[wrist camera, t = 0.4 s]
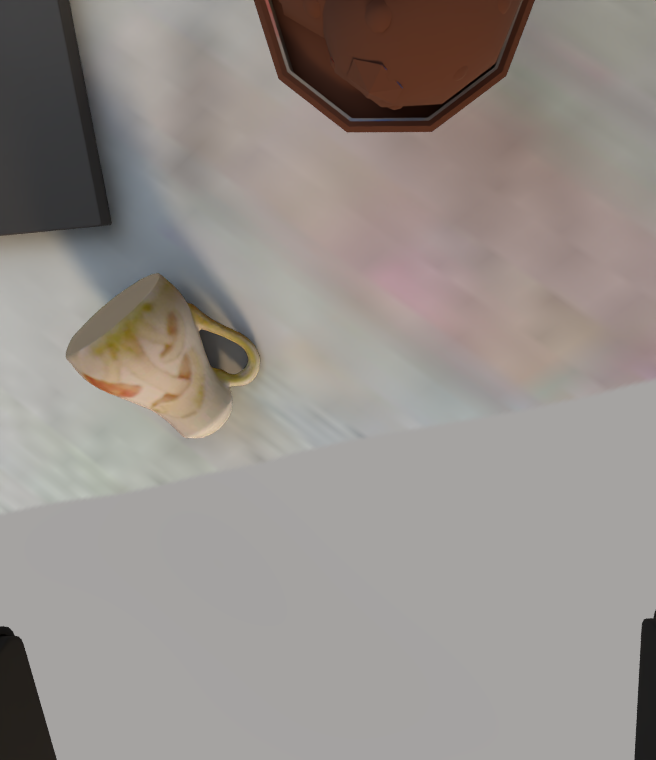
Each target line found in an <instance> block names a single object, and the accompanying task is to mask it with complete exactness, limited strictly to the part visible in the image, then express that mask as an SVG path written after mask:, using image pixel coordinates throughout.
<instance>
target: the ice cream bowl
mask: <svg viewBox="0 0 656 760" xmlns="http://www.w3.org/2000/svg"><path fill="white" fill-rule="evenodd" d="M534 1H535V0H254V2H255V5H256V8H257V12H258V15H259V18H260V21H261V24H262V28H263V31H264V34H265V37H266V40H267V43H268V47H269V50H270V53H271V56H272V59H273V62H274V66H275V69H276V72H277V75H278V78H279V80H281V81H282V82H283V83H285V84H286V85H287V86H288V87H290V88H291V89H292V90H294V91H295V92H296V93H297V94H299V95H300V96H301V97H303V98H304V99H305V100H306V101H308V102H309V103H310V104H312V105H313V106H314V107H315V108H317V109H318V110H319V111H320V112H322V113H323V114H324V115H326V116H327V117H328V118H329V119H331V120H332V121H333V122H335V123H336V124H337V125H338V126H340V127H341V128H342V129H344V130H345V131H346V132H432V131H434V130H435V129H436V128H438V127H439V126H440V125H441V124H443V123H444V122H445V121H447V120H448V119H449V118H451V117H452V116H453V115H455V114H456V113H457V112H459V111H460V110H461V109H463V108H464V107H465V106H467V105H468V104H469V103H471V102H472V101H473V100H475V99H476V98H477V97H479V96H480V95H481V94H483V93H484V92H485V91H487V90H488V89H489V88H491V87H492V86H493V85H495V84H496V83H497V82H499V81H500V80H501V79H503V78H504V77H505V76H506V75H507V72H508V70H509V67H510V64H511V62H512V59H513V56H514V54H515V51H516V48H517V46H518V43H519V40H520V38H521V35H522V33H523V30H524V27H525V25H526V22H527V19H528V17H529V14H530V11H531V9H532V6H533V3H534Z"/></svg>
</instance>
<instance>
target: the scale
mask: <svg viewBox="0 0 656 760" xmlns="http://www.w3.org/2000/svg"><path fill="white" fill-rule="evenodd" d="M104 225H111V218H110V213H109V208H108V202H107V197H106V192H105V187H104V182H103V176H102V171H101V166H100V161H99V155H98V150H97V145H96V140H95V135H94V129H93V124H92V119H91V114H90V108H89V103H88V98H87V93H86V88H85V82H84V77H83V72H82V67H81V62H80V56H79V51H78V46H77V41H76V35H75V30H74V25H73V20H72V15H71V9H70V4H69V0H0V236H3V235H13V234H24V233H34V232H44V231H54V230H65V229H75V228H85V227H95V226H104Z"/></svg>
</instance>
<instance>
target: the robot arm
mask: <svg viewBox="0 0 656 760" xmlns="http://www.w3.org/2000/svg"><path fill="white" fill-rule="evenodd" d="M636 725H637V726H636V742H635V760H656V611H655V614H654V618H653V619H652V618H650V619H644V621H643V623H642V632H641V650H640V669H639V687H638V705H637V724H636ZM0 760H57V759H56V755H55V752H54V749H53V745H52V742H51V738H50V735H49V731H48V728H47V724H46V721H45V717H44V714H43V710H42V707H41V704H40V700H39V696H38V693H37V689H36V686H35V683H34V679H33V675H32V672H31V669H30V665H29V662H28V658H27V655H26V651H25V648H24V644H23V642H22V640H21V639H20V638H19V637H17V636H15V635H14V633H13V631H12V630H11V629H10V628H9V627H4V626H3V627H0Z"/></svg>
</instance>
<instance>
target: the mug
mask: <svg viewBox="0 0 656 760" xmlns="http://www.w3.org/2000/svg"><path fill="white" fill-rule="evenodd" d="M201 329H203V330H206V331H209V332H212V333H215V334H217V335H220V336H222V337H225V338H227V339H229V340H231V341H233V342H235V343H237V344H238V345H240V346H241V347H242V348H243V349H244V350H245V351H246V354H247V356H248V363H247V366H246V367H245V368H244V369H243V370H242V371H241V372H240V373H237V374H229V373H227V372H225V371H224V370H222V369H217V368H213V367H211V365H210V364H209V361H208V358H207V356H206V353H205V350H204V347H203V344H202V340H201V337H200V334H199V331H200V330H201ZM66 359H67V360H68V361H69V362H70V363H71V364H72V366H73V367H74V368H75V370H76V371H77V372H78V373H79V374H80V375H81V376H82V377H83V378H84V379H85V380H87V381H88V382H89V383H91V384H92V385H94V386H96V387H97V388H99V389H101V390H103V391H106V392H108V393H110V394H112V395H115V396H117V397H120V398H122V399H125V400H127V401H130V402H133V403H135V404H138V405H140V406H143V407H145V408H147V409H150V410H152V411H154V412H155V413H157V414H158V415H160V416H161V417H162V418H164V419H165V420H166V421H168V422H169V423H170V424H171V425H172V426H173V427H174V428H175V429H176V430H177V431H178V432H179V433H180V434H181V435H182V436H183V437H186V438H201V437H205V436H208V435H210V434H212V433H214V432H215V431H217V430H218V429H219V428H221V427H222V426H223V425H224V423H225V422H226V421H227V419H228V418H229V416H230V413H231V410H232V393H231V390H230V387H231V386H244V385H246V384H248V383H250V382H251V381H252V380H254V379H255V377H256V375H257V373H258V371H259V367H260V356H259V353H258V351H257V349H256V347H255V345H253V343H252V342H251V341H250V340H249V339H248V338H247V337H245V336H244V335H242V334H241V333H239V332H237V331H235V330H233V329H231V328H228V327H226V326H224V325H222V324H220V323H218V322H216V321H214V320H213V319H211V318H209V317H208V316H206V315H205V314H204V313H202V312H201V311H200V310H199V309H198V308H197V307H196V306H194V305H193V304H190V303H187V302H186V301H185V299H184V298H183V296H182V295H181V293H180V292H179V291H178V290H177V289H176V288H175V287H174V286H173V285H172V284H171V283H170V282H169V281H168V280H167V279H165V278H164V277H163V276H162V275H160V274H159V273H156V274H152V275H149V276H147V277H145V278H143V279H141V280H139V281H138V282H136V283H135V284H133V285H132V286H130V287H128V288H127V289H126V290H124V291H123V292H121V293H120V294H118V295H117V296H115V297H114V298H113V299H112V300H111V301H109V302H108V303H107V304H106V305H105V306H103V307H102V308H101V309H100V310H99V311H98V312H97V313H96V314H95V315H93V316H92V317H91V318H90V319H89V320H88V321H87V322H86V323H85V324H84V325H83V326H82V327H81V328H80V329H79V331H78V332H77V333H76V334H75V335H74V336H73V337H72V339H71V341H70V343H69V345H68V348H67V351H66Z"/></svg>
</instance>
